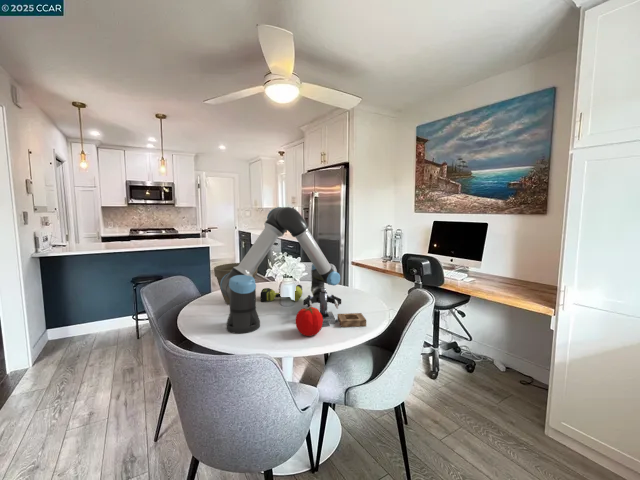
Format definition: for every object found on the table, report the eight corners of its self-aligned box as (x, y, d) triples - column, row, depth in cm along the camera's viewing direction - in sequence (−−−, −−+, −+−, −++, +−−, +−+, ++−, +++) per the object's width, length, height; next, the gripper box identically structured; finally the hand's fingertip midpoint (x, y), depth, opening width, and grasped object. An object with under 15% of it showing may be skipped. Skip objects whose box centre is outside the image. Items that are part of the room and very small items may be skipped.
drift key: (313, 328, 136) (313, 326, 136) (312, 327, 138) (312, 325, 138) (329, 326, 139) (329, 324, 139) (328, 324, 141) (328, 323, 141)
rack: (340, 327, 138) (341, 321, 137) (337, 319, 148) (337, 313, 147) (366, 326, 139) (366, 320, 139) (361, 318, 149) (361, 313, 149)
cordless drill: (268, 291, 202) (304, 291, 201) (259, 303, 177) (300, 303, 176) (267, 280, 201) (304, 281, 200) (258, 291, 176) (300, 292, 175)
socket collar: (314, 324, 141) (314, 319, 141) (312, 317, 151) (312, 312, 151) (335, 323, 142) (335, 318, 142) (332, 316, 152) (332, 311, 152)
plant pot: (212, 309, 164) (211, 270, 162) (217, 297, 187) (216, 263, 186) (258, 306, 169) (258, 268, 168) (257, 294, 193) (257, 261, 191)
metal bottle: (320, 321, 145) (320, 289, 143) (319, 319, 148) (319, 287, 147) (327, 321, 145) (327, 289, 144) (326, 318, 149) (326, 287, 147)
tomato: (290, 337, 126) (290, 310, 125) (301, 326, 139) (301, 302, 138) (318, 340, 123) (318, 313, 122) (326, 329, 136) (326, 304, 135)
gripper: (341, 300, 166) (349, 313, 144) (297, 302, 163) (299, 315, 142) (341, 287, 165) (349, 298, 143) (297, 288, 162) (299, 299, 141)
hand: (324, 306), depth 143 cm, fingers open, 12 cm apart
